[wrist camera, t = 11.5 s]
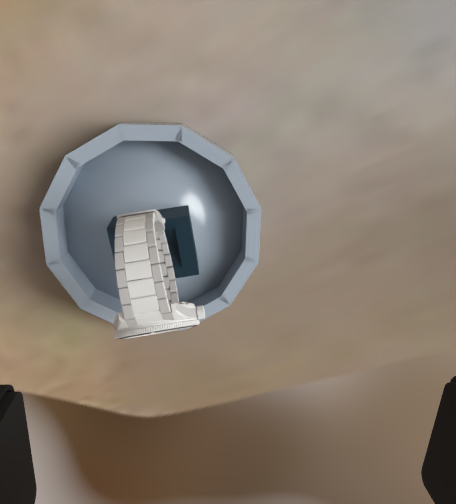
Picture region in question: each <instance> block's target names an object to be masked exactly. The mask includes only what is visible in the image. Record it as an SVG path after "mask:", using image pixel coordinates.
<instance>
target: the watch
mask: <svg viewBox="0 0 456 504" xmlns="http://www.w3.org/2000/svg"><path fill="white" fill-rule="evenodd" d="M107 233H108V237H109V241H110V245H111V250H112V254H113V258H114V262H115V269H116V270H117V271H116V276H117V285H118V288H119V296H120V301H121V305H122V309H123V312H119V313H117V315H116V316H115V319H114V325H115V331H116V334H114V336H115V338H116V339H127V338H134V337H140V336H146V335H152V334H158V333H164V332H170V331H175V330H181V329H186V328H191V327H194V326H197V325H199V324H200V323H199V320H197V317H198V319H204V318H205V310H204V307H203V305H201V306H197V309H196V307H195V305H194V304H193V303H190V302H179V299H178V293H177V286H176V281H175V279H176V278H182V277H188V276H194V275H199V267H198V258H197V252H196V246H195V241H194V235H193V229H192V223H191V217H190V211H189V206H188V205H185V206H179V207H172V208H166V209H160V210H156V209H153V210H146V211H140V212H133V213H127V214H121V215H118V216H115V217H113V218H112V220H111V222H110V224H109V225H108V227H107ZM169 280H171V281H169Z"/></svg>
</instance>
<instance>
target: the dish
mask: <svg viewBox="0 0 456 504" xmlns="http://www.w3.org/2000/svg"><path fill="white" fill-rule="evenodd" d="M185 205H188V206H189V211H190V217H191V223H192V229H193V235H194V241H195V246H196V252H197V258H198V267H199V275H194V276H188V277H182V278H176V279H175V281H176V286H177V293H178V299H179V302H190V303H193V304H194V305H195V307H196V309H197V306H201V305H203V307H204V310H205V318H204V319H206V318H208V317H209V316H211V315H213V314H215V313H217V312H219V311H221V310H222V309H224V308H226V307H228V306H230V305H231V303H232V302H233V300H234V299H235V297H236V296H237V294H238V293H239V291H240V290H241V288H242V287H243V285H244V283H245V282H246V280H247V279H248V277H249V276H250V274H251V273H252V271H253V270H254V268H255V267H256V265H257V264H258V262H259V245H260V226H261V207H260V205H259V203H258V201H257V199H256V197H255V196H254V194H253V192H252V190H251V188H250V186H249V184H248V182H247V180H246V179H245V177H244V175H243V173H242V171H241V169H240V167H239V165H238V163H237V162H236V160H235V158H234V157H233V156H232V155H231V154H230V153H229V152H227V151H226V150H224V149H223V148H221V147H219V146H218V145H216V144H215V143H213V142H211V141H210V140H208V139H206V138H205V137H203V136H202V135H200V134H198V133H197V132H195V131H193V130H192V129H190V128H189V127H187V126H185V125H184V124H182V123H138V122H123V123H120V124H118V125H116V126H114V127H113V128H111V129H109V130H108V131H106V132H104V133H103V134H101V135H99V136H98V137H96V138H94V139H92V140H91V141H89V142H87V143H86V144H84V145H82V146H81V147H79V148H77V149H75V150H74V151H72V152H70V153H69V154H67V155H65V157H64V159H63V161H62V163H61V165H60V167H59V169H58V171H57V173H56V175H55V177H54V179H53V181H52V183H51V185H50V187H49V190H48V192H47V194H46V196H45V198H44V200H43V202H42V204H41V206H40V208H39V211H40V219H41V227H42V234H43V242H44V250H45V258H46V265H47V266H48V268H49V269H50V270H51V271H52V273H53V274H54V275H55V277H56V278H57V279H58V280H59V282H60V283H61V284H62V286H63V287H64V288H65V289H66V291H67V292H68V293H69V295H70V296H71V297H72V299H73V300H74V301H75V302H76V304H77V305H78V306H79V308H80V309H82V310H84V311H86V312H88V313H91V314H93V315H95V316H97V317H99V318H102V319H104V320H106V321H108V322H110V323H113V324H114V319H115V316H116V315H117V313H119V312H123V309H122V305H121V301H120V296H119V288H118V285H117V276H116V271H117V270H116V269H115V262H114V258H113V254H112V250H111V245H110V241H109V237H108V233H107V227H108V225H109V224H110V222H111V220H112V218H113V217H115V216H118V215H121V214H127V213H133V212H140V211H146V210H153V209H156V210H160V209H166V208H172V207H179V206H185ZM169 281H171V280H169ZM204 319H198V317H197V320H199V322H200V321H202V320H204ZM186 329H187V328H186ZM181 330H185V329H181Z"/></svg>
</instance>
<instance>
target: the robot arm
mask: <svg viewBox="0 0 456 504" xmlns="http://www.w3.org/2000/svg"><path fill="white" fill-rule="evenodd" d="M421 473H422V480H423V483H424V486H425V488H426V489H427V491H428V493H429V494H430V496H431V498H432V499H433V501H434V503H435V504H456V376H455V377H453V378H452V379H451V382H450V383H447V384H446V385H445V387H444V391H443V395H442V398H441V402H440V405H439V409H438V412H437V416H436V420H435V423H434V427H433V430H432V434H431V438H430V441H429V445H428V448H427V452H426V456H425V459H424V463H423V466H422V472H421ZM35 498H36V482H35V475H34V468H33V462H32V455H31V448H30V441H29V435H28V428H27V421H26V414H25V408H24V402H23V396H22V393H21V392H14V388H13V387H12V385H0V504H34V503H35Z"/></svg>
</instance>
